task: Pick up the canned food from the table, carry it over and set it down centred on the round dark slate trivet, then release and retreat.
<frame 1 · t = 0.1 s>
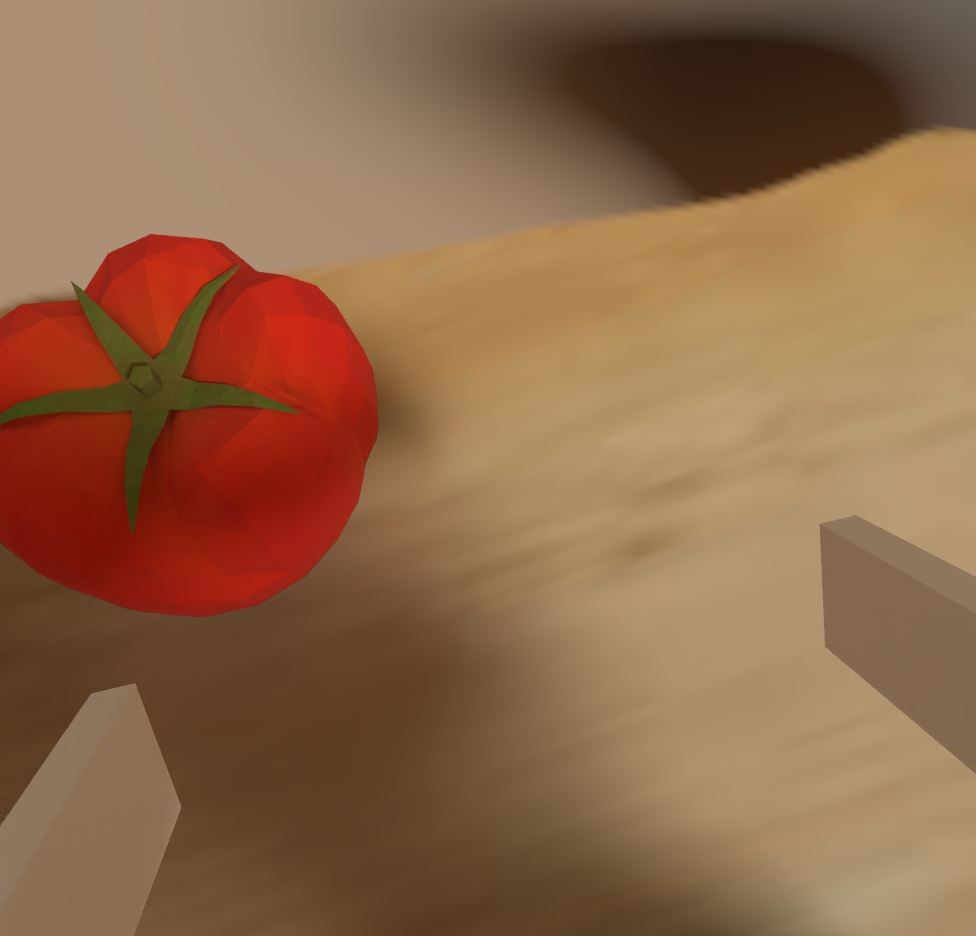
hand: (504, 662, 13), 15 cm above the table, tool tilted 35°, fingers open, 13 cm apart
tomato: (241, 478, 31), on the table
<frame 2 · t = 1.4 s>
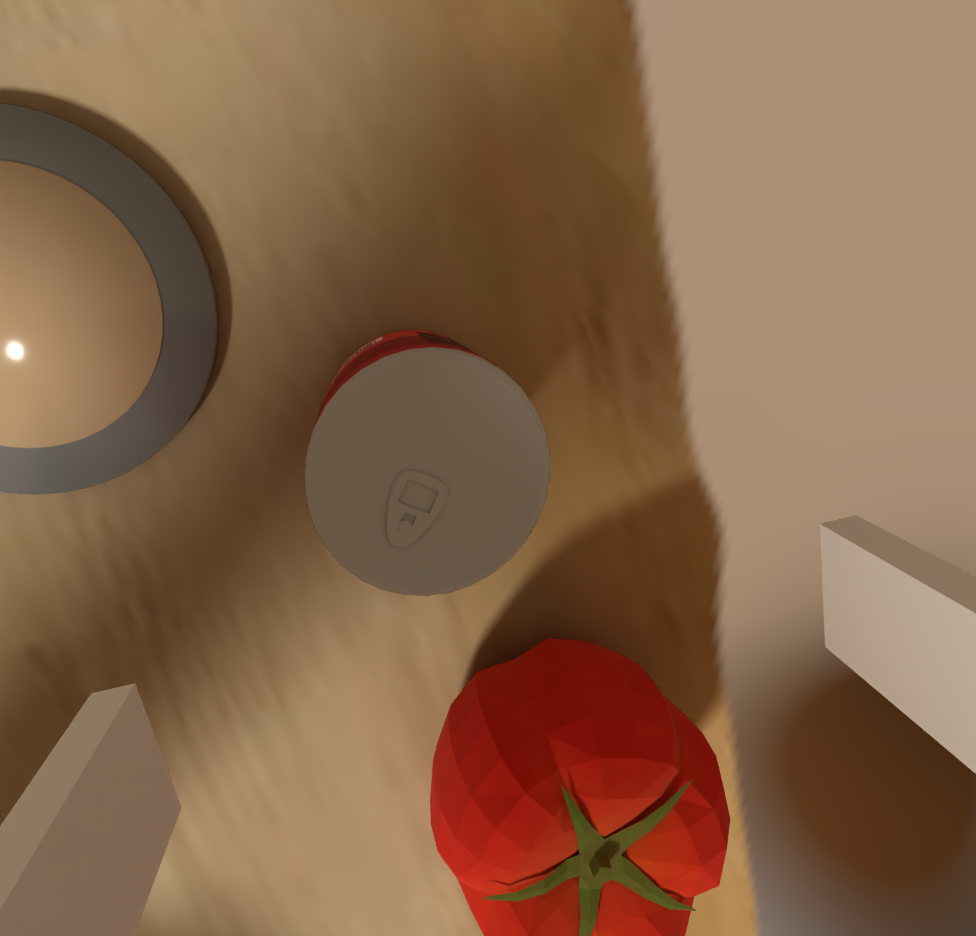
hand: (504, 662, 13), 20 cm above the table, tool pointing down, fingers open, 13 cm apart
tomato: (545, 726, 38), on the table
trivet: (23, 310, 29), on the table
canned food: (409, 416, 32), on the table
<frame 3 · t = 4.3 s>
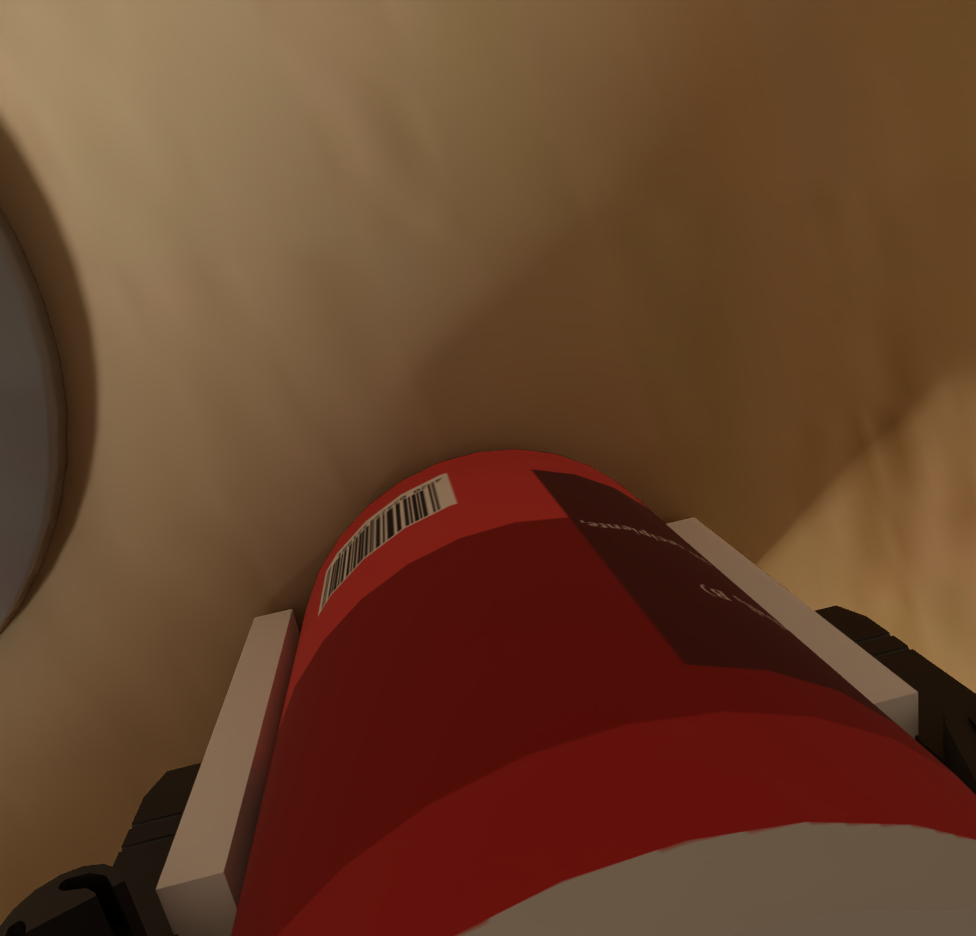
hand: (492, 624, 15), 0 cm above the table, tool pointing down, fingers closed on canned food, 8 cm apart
canned food: (488, 614, 15), on the table, touching gripper
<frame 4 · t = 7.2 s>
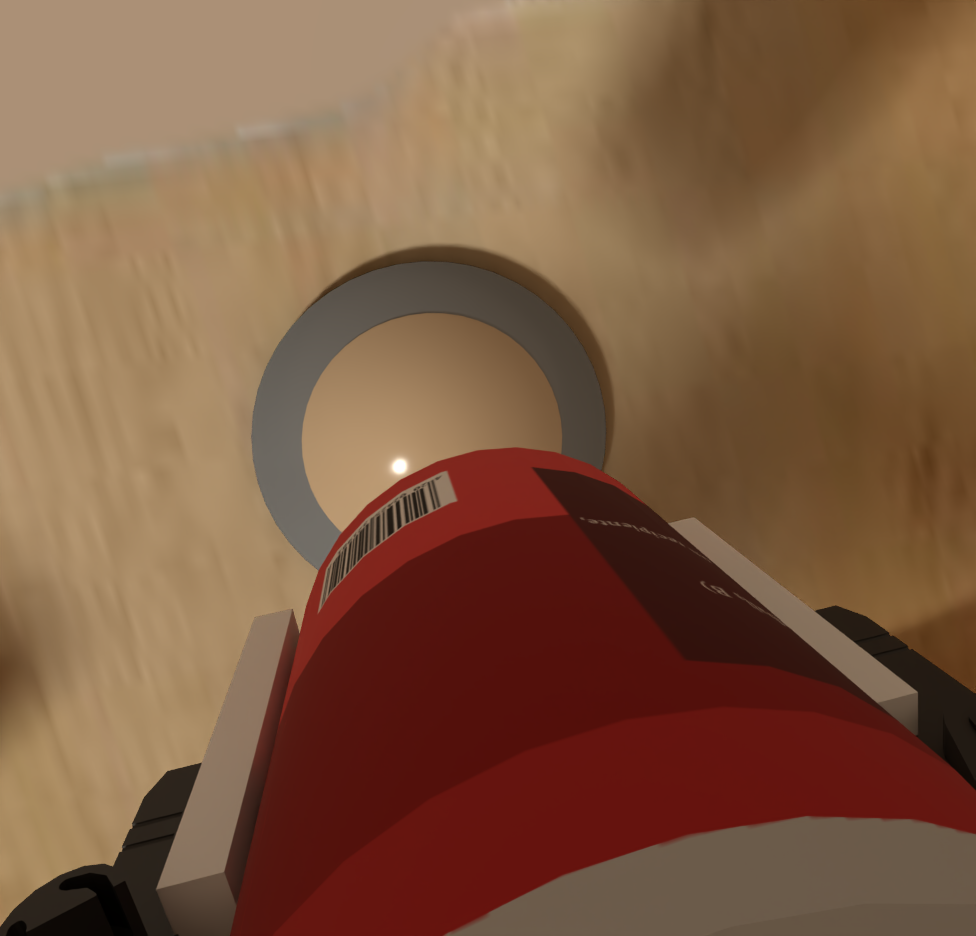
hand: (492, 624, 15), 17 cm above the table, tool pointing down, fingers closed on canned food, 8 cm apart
trivet: (433, 441, 31), on the table
canned food: (488, 612, 15), point 16 cm above the table, touching gripper
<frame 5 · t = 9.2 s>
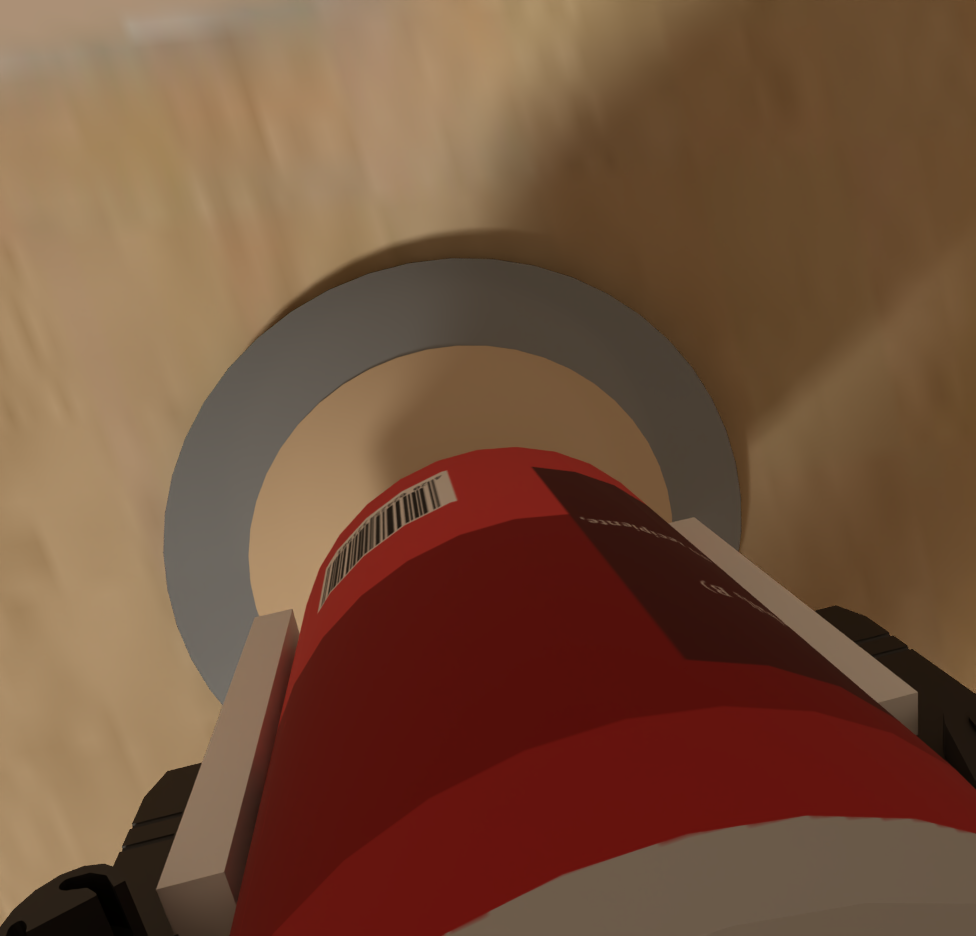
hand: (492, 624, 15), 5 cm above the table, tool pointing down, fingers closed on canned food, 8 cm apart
trivet: (465, 547, 19), on the table
canned food: (488, 612, 15), point 4 cm above the table, touching gripper
when the fingers open (3 cm above the table, at t = 10.5 s): canned food drops 1 cm, resting on trivet.
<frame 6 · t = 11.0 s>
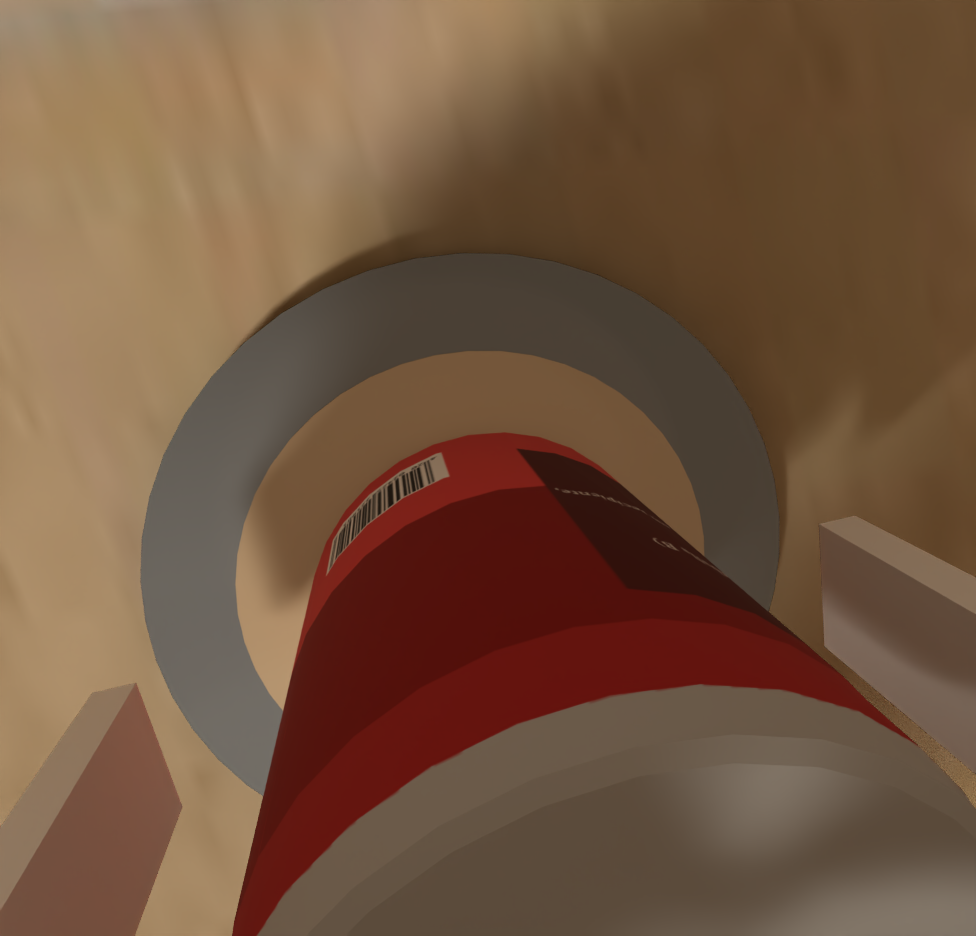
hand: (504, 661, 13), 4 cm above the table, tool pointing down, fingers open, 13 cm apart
trivet: (476, 572, 17), on the table
canned food: (480, 585, 17), point 1 cm above the table, touching trivet
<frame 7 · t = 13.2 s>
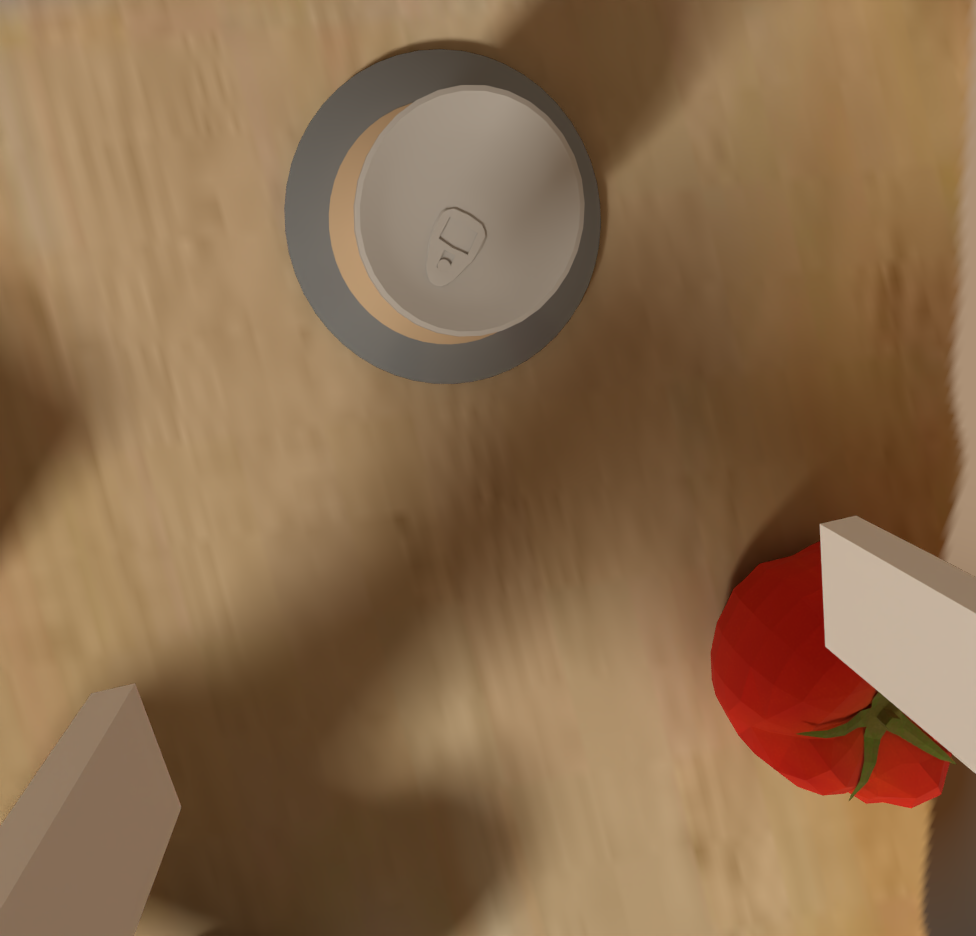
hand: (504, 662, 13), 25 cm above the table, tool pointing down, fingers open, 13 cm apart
tomato: (787, 622, 44), on the table
trivet: (445, 228, 34), on the table
canned food: (447, 228, 34), point 1 cm above the table, touching trivet
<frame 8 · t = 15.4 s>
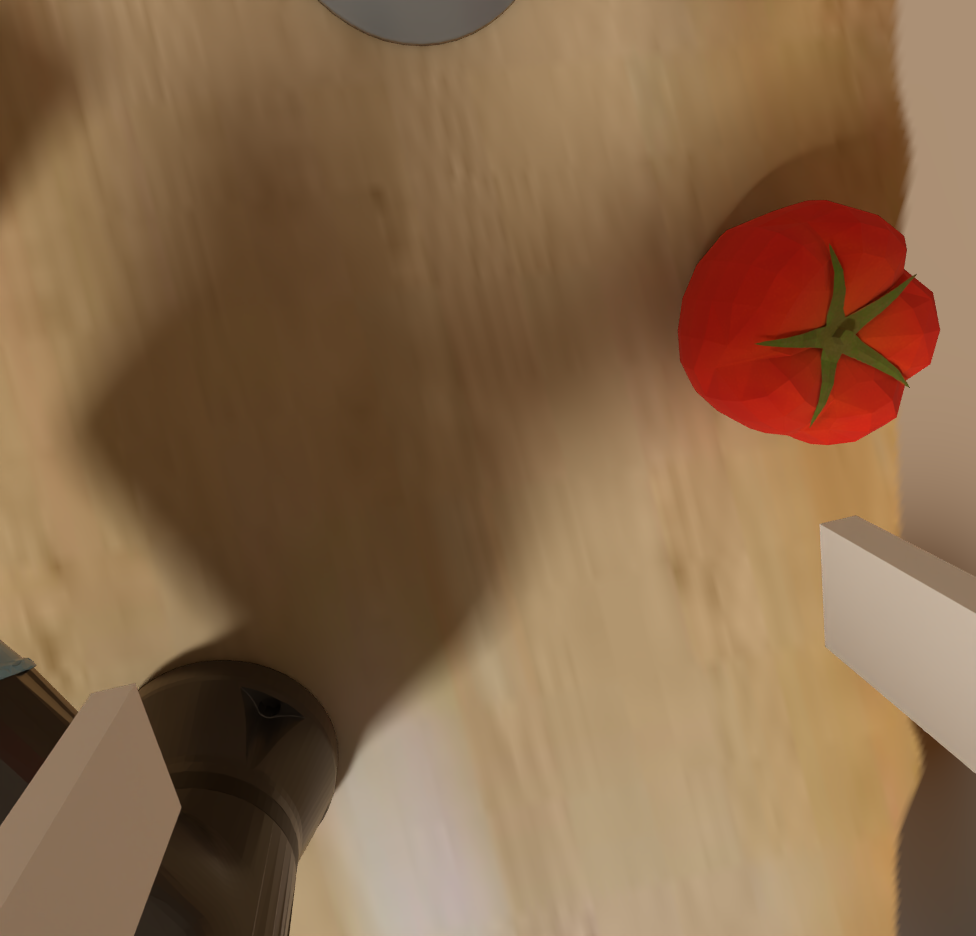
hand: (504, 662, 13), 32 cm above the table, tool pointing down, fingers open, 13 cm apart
tomato: (752, 323, 46), on the table
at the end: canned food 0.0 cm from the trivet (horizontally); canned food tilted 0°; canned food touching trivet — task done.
